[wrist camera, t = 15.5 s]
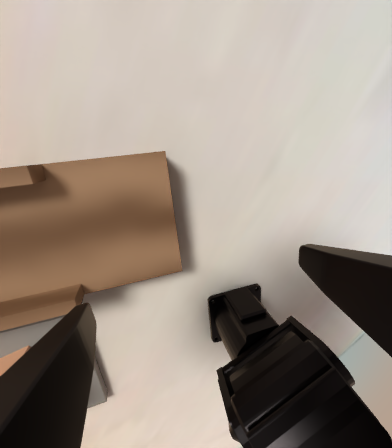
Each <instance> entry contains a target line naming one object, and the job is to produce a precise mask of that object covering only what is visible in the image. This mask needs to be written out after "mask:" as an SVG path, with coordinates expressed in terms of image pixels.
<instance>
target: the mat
mask: <svg viewBox="0 0 392 448" xmlns="http://www.w3.org/2000/svg"><path fill="white" fill-rule="evenodd" d="M64 316H65V315H62V316H58V317H54V318H50V319H46V320H42V321H38V322H34V323H30V324H27V325H23V326H19V327H15V328H11V329H7V330H3V331H0V358H2V357H4V356H6V355H8V354H11V353H13V352H15V351H17V350H20V349H22V348H24V347H26V346H28V345H29V346H30V347H32V346H33V345H34V344H35V343H36V342H38V341H39V340H40V339H41V338H42V337H43V336H44V335H45V334H46V333H47V332H48V331H49V330H50V329H51V328H53V327H54V326H55V325H56V324H57V323H58V322H59V321H60V320H61V319H62V318H63V317H64ZM107 393H108V392H107V389H106V386H105V384H104V381H103V378H102V375H101V372H100V370H99V367H98V364H97V361H96V358H95V360H94V371H93V378H92V384H91V389H90V395H89V401H88V407H87V408H90V407H93V406H96V405H98V404H101V403H104V402H107Z"/></svg>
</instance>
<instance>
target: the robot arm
mask: <svg viewBox="0 0 392 448" xmlns="http://www.w3.org/2000/svg"><path fill="white" fill-rule="evenodd" d="M299 265H300V267H301V268H302V269H303V271H304V272H305V273H306V274H307V275H308V276H309V277H310V278H311V279H312V281H313V282H314V283H315V284H316V285H317V286H318V287H319V288H320V290H321V291H322V292H323V293H324V294H325V295H326V296H327V297H328V298H329V299H330V300H331V301H333V302H334V303H335V304H336V305H337V306H338V307H339V308H340V309H341V310H342V311H343V312H344V313H345V314H346V315H347V316H348V317H350V318H351V319H352V320H353V321H354V322H355V323H356V324H357V325H358V326H359V327H360V328H361V329H362V330H363V331H364V332H365V333H367V334H368V335H369V336H370V337H371V338H372V339H373V340H374V341H375V342H376V343H377V344H378V345H379V346H380V347H381V348H383V349H384V350H385V351H386V352H387V353H388V354H389V355H390V356H391V357H392V256H391V255H384V254H377V253H370V252H363V251H356V250H349V249H342V248H335V247H328V246H321V245H314V244H306V245H302V246H301V247H300V248H299ZM255 288H256V289H255ZM212 300H213V301H212ZM208 310H209V320H210V329H211V338H212V341H213V342H219V341H223V343H224V345H225V347H226V349H227V351H228V353H229V356H230V358H231V360H232V361H231V362H229V363H228V364H227V365H225V366H224V367H221V368H219V369H218V370H217V374H218V378H219V379H218V382H219V386H220V390H221V394H222V398H223V402H224V406H225V410H226V414H227V417H228V422H229V431H230V434H231V436H232V438H233V439H234V440H236V441H238V442H240V443H241V445H242V446H243V448H392V439H391V437H390V436H389V434H388V432H387V431H386V430H385V429H384V427H383V426H382V425H381V424H380V422H379V421H378V419H377V418H376V417H375V416H374V414H373V413H372V412H371V411H370V409H369V408H368V407H367V406H366V405H365V403H364V402H363V401H362V400H361V398H360V397H359V396H358V395H357V393H356V392H355V391H354V390H353V388H352V387H351V386H353V385H354V384H355V381H354V379H353V377H352V376H351V374H350V373H349V371H348V370H347V368H346V367H345V366H344V365H343V363H342V362H341V361H340V360H339V358H338V357H337V356H336V355H335V354H334V353H333V352H332V351H331V350H330V349H329V347H328V346H327V345H325V344H324V343H323V342H322V341H321V340H320V339H319V338H318V337H316V336H315V335H314V334H313V333H312V332H310V331H309V330H308V329H307V328H305V327H304V326H303V325H302V324H301V323H299V322H298V321H297V320H296V319H295V318H293V317H292V316H290V317H289V318H287V320H286V321H285V322H284V323H282V324H281V325H280V326H279V325H278V324H277V323H276V321H275V320H274V319H273V318H272V317H271V316H270V314H269V313H268V312H267V310H266V309H265V307H264V306H263V305H262V304H261V287H260V286H259V285H258V284H253V285H249V286H245V287H242V288H238V289H234V290H231V291H227V292H224V293H220V294H216V295H213V296H210V297H209V298H208ZM95 343H96V320H95V317H94V314H93V312H92V309H91V306H90V304H89V303H84V304H80V305H77V306H75V307H74V308H73V309H72V310H71V311H70V312H69V313H68V314H66V315H65V316H64V317H63V318H62V319H61V320H60V321H59V322H58V323H57V324H56V325H55V326H54V327H53V328H51V329H50V330H49V331H48V332H47V333H46V334H45V335H44V336H43V337H42V338H41V339H40V340H39V341H38V342H36V343H35V344H34V345H33V346H32V347H31V348H30V349H29V350H28V351H27V352H26V353H25V354H24V355H23V356H21V357H20V358H19V359H18V360H17V361H16V362H15V363H14V364H13V365H12V366H11V367H10V368H9V369H8V370H6V371H5V372H4V373H3V374H2V375H1V376H0V448H80V447H81V442H82V436H83V430H84V424H85V418H86V413H87V407H88V401H89V395H90V389H91V384H92V378H93V371H94V360H95Z"/></svg>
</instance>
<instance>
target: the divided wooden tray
mask: <svg viewBox="0 0 392 448" xmlns="http://www.w3.org/2000/svg"><path fill="white" fill-rule="evenodd" d="M179 271H182V265H181V258H180V251H179V244H178V237H177V230H176V223H175V216H174V209H173V202H172V195H171V188H170V181H169V174H168V167H167V160H166V153H165V151H162V152H152V153H143V154H134V155H124V156H115V157H106V158H96V159H87V160H78V161H68V162H59V163H50V164H40V165H29V166H19V167H10V168H1V169H0V331H3V330H7V329H11V328H15V327H19V326H23V325H27V324H30V323H34V322H38V321H42V320H46V319H50V318H54V317H58V316H62V315H66V314H68V313H69V312H70V311H71V310H72V309H73V308H74V307H75V306H77V305H80V304H81V303H82V300H83V297H84V294H88V293H92V292H96V291H100V290H104V289H109V288H113V287H117V286H121V285H125V284H129V283H134V282H138V281H142V280H146V279H150V278H154V277H159V276H163V275H167V274H171V273H175V272H179Z"/></svg>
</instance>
